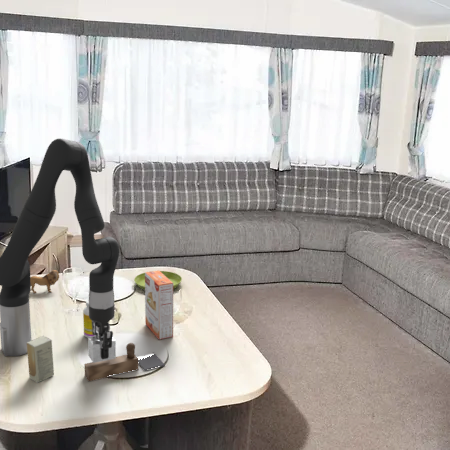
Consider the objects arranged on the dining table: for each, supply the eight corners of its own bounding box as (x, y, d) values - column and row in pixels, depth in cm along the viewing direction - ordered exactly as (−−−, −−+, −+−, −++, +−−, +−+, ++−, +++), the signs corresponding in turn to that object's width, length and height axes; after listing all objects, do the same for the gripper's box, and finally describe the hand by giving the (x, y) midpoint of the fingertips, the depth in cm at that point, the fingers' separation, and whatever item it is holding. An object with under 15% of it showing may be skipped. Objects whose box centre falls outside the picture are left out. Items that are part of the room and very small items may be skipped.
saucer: (164, 274, 272) (164, 267, 271) (191, 287, 256) (191, 280, 256) (125, 283, 259) (125, 276, 258) (150, 298, 244) (150, 291, 243)
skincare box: (46, 370, 184) (44, 334, 181) (54, 375, 181) (52, 339, 178) (28, 378, 179) (25, 341, 176) (36, 383, 177) (34, 346, 173)
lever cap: (93, 362, 177) (92, 343, 175) (88, 355, 181) (88, 336, 180) (115, 358, 181) (115, 338, 179) (110, 351, 185) (110, 332, 183)
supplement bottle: (98, 340, 205) (97, 306, 202) (80, 337, 206) (79, 303, 203) (106, 332, 212) (105, 298, 208) (88, 329, 213) (87, 296, 209)
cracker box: (144, 324, 218) (144, 271, 213) (159, 322, 221) (159, 269, 216) (157, 340, 206) (157, 284, 201) (173, 337, 209) (174, 282, 204)
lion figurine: (59, 287, 251) (58, 267, 248) (59, 292, 246) (59, 272, 243) (23, 290, 247) (22, 270, 244) (22, 295, 242) (21, 274, 239)
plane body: (88, 381, 179) (87, 355, 176) (84, 375, 182) (83, 350, 180) (138, 369, 186) (138, 344, 184) (133, 364, 190) (133, 339, 187)
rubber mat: (144, 370, 186) (144, 369, 186) (134, 358, 193) (134, 356, 193) (164, 366, 189) (164, 364, 189) (153, 354, 197) (153, 352, 197)
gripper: (82, 296, 180) (83, 346, 185) (96, 313, 168) (97, 367, 173) (106, 292, 184) (106, 342, 189) (121, 309, 172) (121, 362, 177)
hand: (102, 354), depth 181 cm, fingers closed on lever cap, 5 cm apart
